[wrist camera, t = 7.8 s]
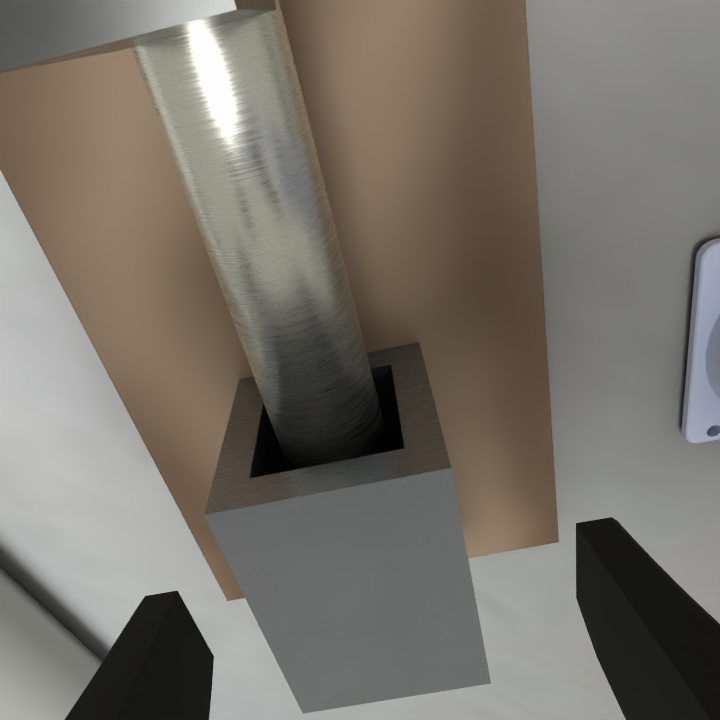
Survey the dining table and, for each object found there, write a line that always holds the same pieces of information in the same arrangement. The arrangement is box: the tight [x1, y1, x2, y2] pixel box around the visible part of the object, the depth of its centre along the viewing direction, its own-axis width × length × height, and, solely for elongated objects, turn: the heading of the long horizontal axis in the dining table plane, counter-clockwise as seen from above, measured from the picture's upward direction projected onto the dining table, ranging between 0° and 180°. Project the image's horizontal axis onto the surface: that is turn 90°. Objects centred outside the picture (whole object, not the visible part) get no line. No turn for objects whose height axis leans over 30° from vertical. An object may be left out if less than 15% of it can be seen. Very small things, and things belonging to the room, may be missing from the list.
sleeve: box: [204, 342, 491, 713], centre depth 19 cm, size 6×9×6 cm, turn 12°
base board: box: [0, 0, 559, 601], centre depth 17 cm, size 14×32×1 cm, turn 12°
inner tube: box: [0, 0, 384, 468], centre depth 10 cm, size 3×19×8 cm, turn 12°
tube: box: [0, 568, 103, 720], centre depth 26 cm, size 5×5×25 cm
